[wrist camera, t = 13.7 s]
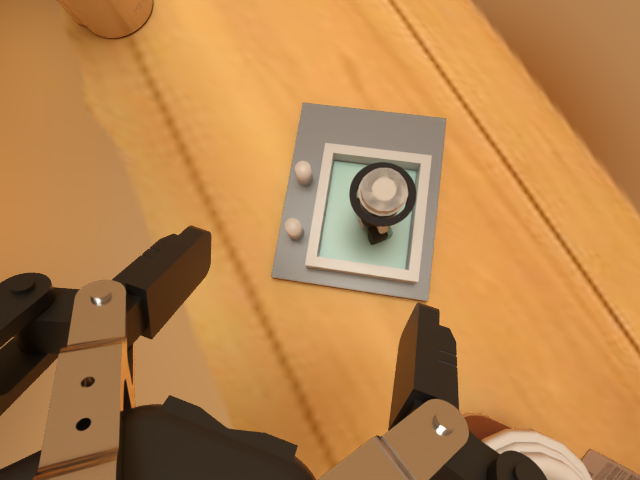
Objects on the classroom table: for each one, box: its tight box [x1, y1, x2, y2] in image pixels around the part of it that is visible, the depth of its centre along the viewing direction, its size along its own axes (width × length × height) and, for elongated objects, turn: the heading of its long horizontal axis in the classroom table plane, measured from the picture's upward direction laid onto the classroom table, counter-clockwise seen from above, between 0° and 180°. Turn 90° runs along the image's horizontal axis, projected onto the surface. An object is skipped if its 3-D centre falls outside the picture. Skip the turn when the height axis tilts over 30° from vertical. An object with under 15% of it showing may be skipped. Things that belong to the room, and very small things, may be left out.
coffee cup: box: [463, 414, 592, 480], centre depth 29 cm, size 9×9×12 cm
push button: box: [349, 162, 416, 245], centre depth 34 cm, size 7×5×10 cm
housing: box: [271, 103, 446, 301], centre depth 38 cm, size 16×20×4 cm
